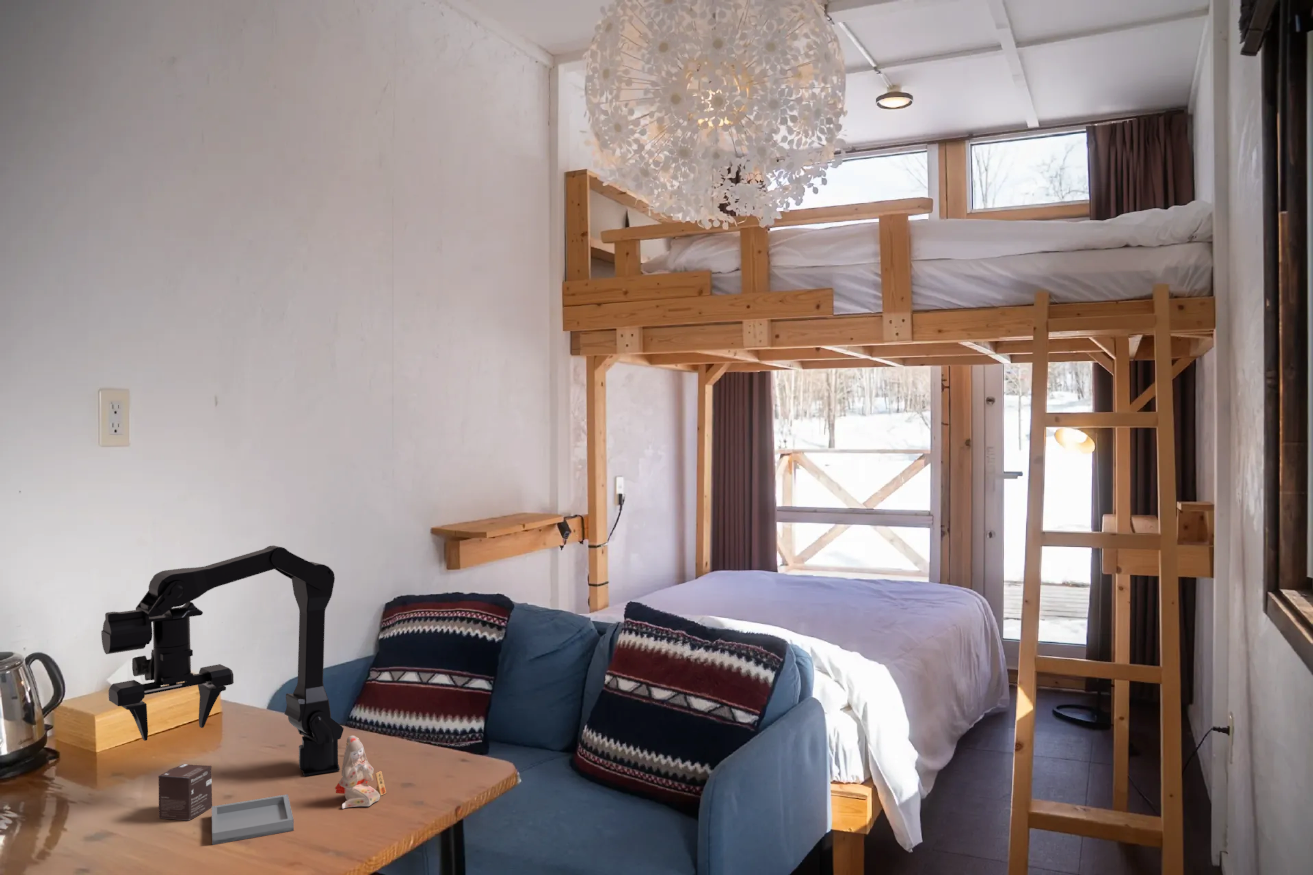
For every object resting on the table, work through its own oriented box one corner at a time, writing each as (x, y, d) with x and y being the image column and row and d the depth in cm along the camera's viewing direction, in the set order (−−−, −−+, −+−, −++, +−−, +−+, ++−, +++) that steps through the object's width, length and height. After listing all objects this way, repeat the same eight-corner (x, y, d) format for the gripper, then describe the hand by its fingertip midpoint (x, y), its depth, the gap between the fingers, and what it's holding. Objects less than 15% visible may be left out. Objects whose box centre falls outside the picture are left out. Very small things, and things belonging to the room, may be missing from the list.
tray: (287, 804, 166) (287, 794, 166) (293, 830, 155) (293, 819, 155) (211, 816, 160) (211, 806, 160) (212, 844, 150) (212, 833, 150)
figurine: (356, 813, 161) (345, 743, 162) (330, 811, 165) (320, 742, 165) (397, 793, 169) (386, 726, 169) (371, 791, 173) (361, 725, 173)
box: (189, 821, 159) (188, 777, 159) (157, 818, 160) (157, 775, 160) (213, 807, 165) (212, 765, 165) (182, 804, 166) (182, 762, 166)
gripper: (210, 628, 177) (211, 712, 178) (97, 646, 164) (99, 736, 164) (233, 637, 169) (235, 724, 170) (117, 656, 156) (120, 751, 156)
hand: (173, 733), depth 165 cm, fingers open, 9 cm apart
